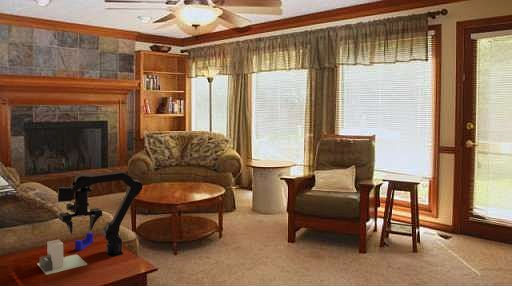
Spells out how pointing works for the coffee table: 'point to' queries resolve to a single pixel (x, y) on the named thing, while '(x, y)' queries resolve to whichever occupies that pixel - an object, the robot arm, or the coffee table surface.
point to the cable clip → (84, 242)
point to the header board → (69, 263)
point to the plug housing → (55, 253)
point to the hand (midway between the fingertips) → (80, 232)
